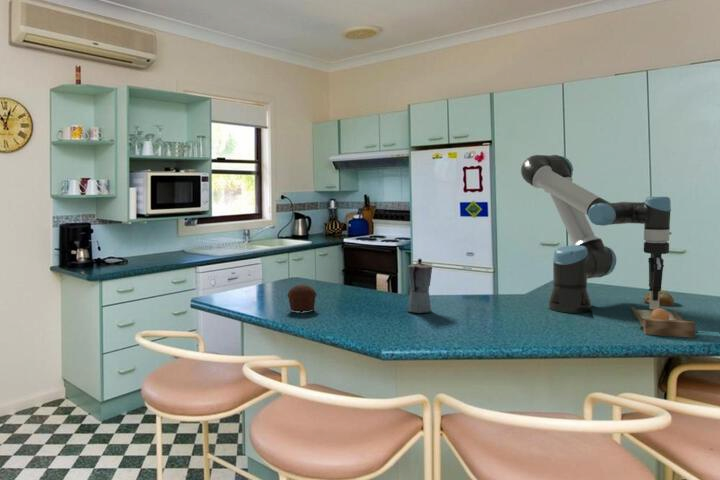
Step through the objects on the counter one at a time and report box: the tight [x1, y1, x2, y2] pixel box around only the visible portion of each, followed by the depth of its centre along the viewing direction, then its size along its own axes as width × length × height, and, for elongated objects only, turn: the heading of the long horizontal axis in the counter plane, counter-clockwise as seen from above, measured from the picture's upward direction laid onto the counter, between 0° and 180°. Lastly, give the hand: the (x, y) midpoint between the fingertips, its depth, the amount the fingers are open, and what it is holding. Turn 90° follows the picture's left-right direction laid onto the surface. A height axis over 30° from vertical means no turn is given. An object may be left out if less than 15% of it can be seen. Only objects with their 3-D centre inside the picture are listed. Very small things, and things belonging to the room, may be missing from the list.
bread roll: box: [643, 289, 675, 307], centre depth 188 cm, size 10×10×8 cm
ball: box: [651, 307, 670, 320], centre depth 159 cm, size 5×5×5 cm
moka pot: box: [406, 258, 433, 314], centre depth 187 cm, size 10×15×20 cm, turn 164°
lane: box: [630, 306, 697, 339], centre depth 163 cm, size 13×29×4 cm, turn 159°
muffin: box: [286, 284, 318, 312], centre depth 193 cm, size 12×11×10 cm
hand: (654, 308), depth 172 cm, fingers closed
